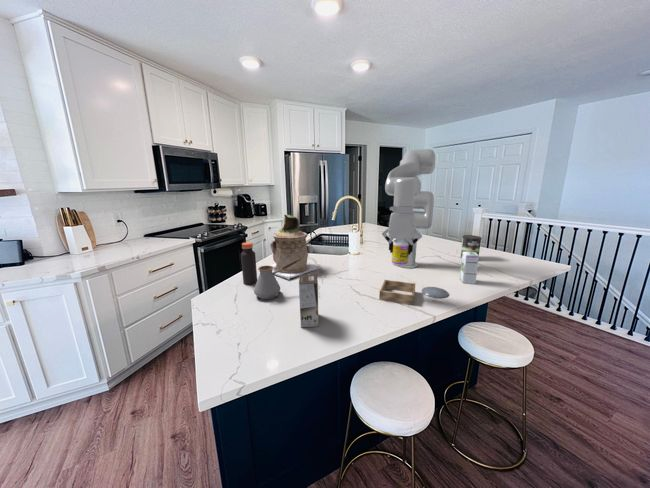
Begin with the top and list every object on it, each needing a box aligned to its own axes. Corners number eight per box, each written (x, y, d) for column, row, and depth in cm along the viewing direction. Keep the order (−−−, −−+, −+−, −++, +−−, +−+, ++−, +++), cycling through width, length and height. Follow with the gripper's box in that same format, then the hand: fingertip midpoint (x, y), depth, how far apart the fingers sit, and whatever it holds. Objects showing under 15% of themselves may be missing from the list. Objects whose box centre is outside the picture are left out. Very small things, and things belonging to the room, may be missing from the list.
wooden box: (379, 299, 108) (379, 290, 107) (384, 287, 120) (385, 279, 119) (412, 305, 103) (413, 295, 102) (414, 291, 115) (415, 283, 114)
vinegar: (240, 282, 128) (237, 243, 123) (252, 278, 133) (249, 241, 128) (248, 286, 124) (244, 245, 119) (260, 282, 129) (257, 243, 124)
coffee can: (481, 261, 157) (484, 238, 153) (463, 260, 158) (465, 238, 155) (474, 256, 166) (477, 235, 163) (457, 255, 168) (460, 234, 165)
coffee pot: (255, 303, 107) (252, 268, 103) (253, 292, 117) (250, 260, 113) (305, 295, 113) (304, 262, 110) (299, 285, 124) (297, 255, 120)
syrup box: (475, 284, 123) (479, 255, 120) (462, 283, 124) (466, 254, 121) (471, 279, 129) (475, 251, 125) (458, 279, 130) (462, 251, 126)
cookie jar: (321, 269, 147) (320, 212, 139) (287, 281, 129) (284, 218, 121) (293, 260, 163) (291, 209, 155) (259, 270, 146) (255, 213, 138)
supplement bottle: (399, 268, 105) (401, 237, 101) (388, 263, 110) (389, 234, 107) (411, 265, 108) (413, 235, 104) (400, 260, 113) (401, 232, 110)
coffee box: (319, 326, 89) (318, 283, 85) (300, 327, 89) (298, 284, 85) (317, 313, 98) (316, 273, 94) (300, 314, 97) (299, 274, 94)
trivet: (416, 292, 115) (416, 291, 115) (429, 285, 122) (429, 284, 122) (440, 300, 107) (440, 299, 107) (452, 293, 114) (453, 292, 114)
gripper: (379, 210, 103) (377, 253, 107) (426, 212, 96) (422, 257, 101) (382, 208, 109) (381, 248, 114) (426, 209, 103) (422, 252, 108)
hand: (400, 252), depth 108 cm, fingers closed on supplement bottle, 6 cm apart
